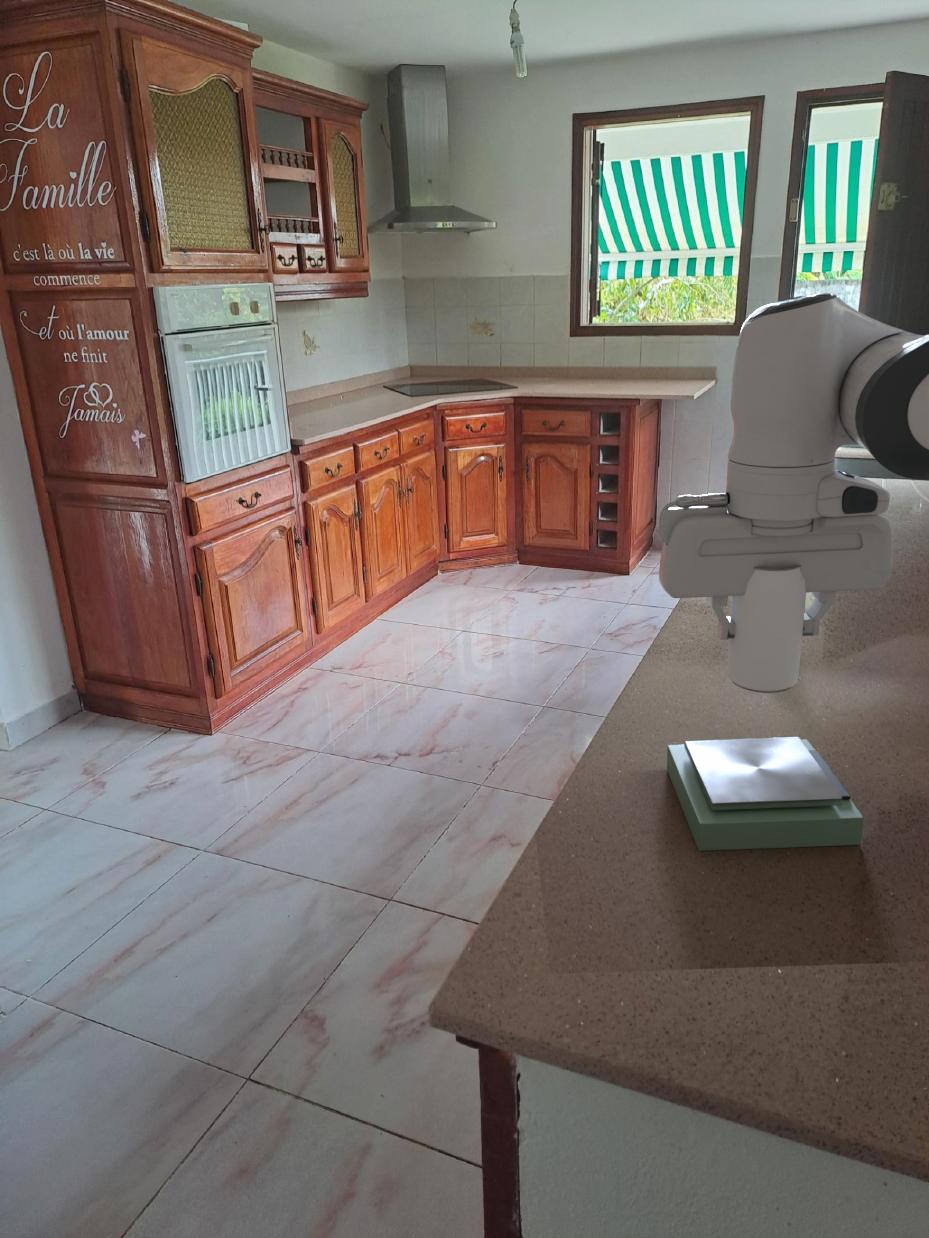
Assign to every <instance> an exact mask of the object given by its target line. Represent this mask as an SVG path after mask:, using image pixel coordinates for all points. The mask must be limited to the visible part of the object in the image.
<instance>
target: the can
mask: <svg viewBox="0 0 929 1238" xmlns="http://www.w3.org/2000/svg"><path fill="white" fill-rule="evenodd" d="M800 567H801V565H799V566H797V567H793V568H787V569H764V568H757V567H754V569H755V571H754V574H753V575H752V577H751V578H750V580H749V581H748V583H747V589H746V592H745V594H744V595H739V596H731V606H730V616H731V619H732V620H733V621H734V622H735V623H736V630H735V638H734V639H728V656H727V677H728V678H729V680H730V681H731V682H732V683H733V685H735V686H737V687H739V688H741V689H743V690H745V691H749V692H754V693H761V694H773V693H774V694H775V693H781V692H785V691H789V690H790V689H792V688H793V687H794V686H795V685H796V684H797V683H798V682H799V676H800V665H801V654H802V646H803V636H802V635H803V624H804V613H806V602H807V601H806V600H807V592H805V579H804V577H803V575H802V574H801V572H800Z"/></svg>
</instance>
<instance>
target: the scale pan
mask: <svg viewBox="0 0 929 1238" xmlns="http://www.w3.org/2000/svg"><path fill="white" fill-rule="evenodd" d="M801 740H802V739H801V738H800V737H799V736H785V737H760V738H738V739H737V738H736V739H734V738H733V739H713V740H710V739H709V740H689V741H688V740H687V741H686V740H685V741H684V745H685V750H686V752H687V754H688V757H689V759H690V761H691V763H692V766H693V768H694V770H695V772H696V775H697V777H698V779H699V781H700V784H701V786H702V788H703V790H704V793H705V795H706V797H707V799H708V802H709V804H710V806H711V808H712V810H733V809H758V808H784V807H810V806H836V805H842V797H841V796H840V794H839V793H838V791H837V790H836V789H835V787H834V786H833V784H832V783H831V782H830V780H829V779H828V777H827V776H826V775H825V773H824V772H823V770H822V769H821V768H820V766H819V765H818V763H817V762H816V760H815V759H814V758H813V756H812V755H811V753H810V752H809V751H808V749H807V748H806V746H805V745H804V744H803V742H802V741H801Z"/></svg>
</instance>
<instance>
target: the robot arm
mask: <svg viewBox="0 0 929 1238" xmlns="http://www.w3.org/2000/svg"><path fill="white" fill-rule="evenodd" d="M738 336H739V337H738V339H737V344H736V348H735V349H736V350H735V355H734V362H733V371H732V380H731V394H730V395H731V396H730V412H731V416H732V420H733V436H732V440H731V444H730V447H729V450H728V454H727V469H726V470H727V471H726V491H725V492H720V493H708V494H702V495H701V494H700V495H691V494H684V495H679V496H676V499H675V500H672V501H670V502H668V503H667V504H665V505H664V507H663V508H662V509H661V511H660V513H659V517H658V518H659V520H658V534H659V537H660V539H661V541H662V548H661V553H660V559H659V568H658V569H659V570H658V581H659V583H660V586H661V587H662V589H663V591H665V592H666V594H668V596H669V597H670V598H673V599H692V598H695V599H696V598H706V602H707V603H708V604H709V606H710V608H711V610H712V612H713V613H714V615H715V616H716V618H717V629H716V631H717V636H718V638H719V639H720V640H721V641H726V640H729V639H734V638H735V630H736V623H735V622H734V621H733V620H732V619H731V615H730V616H729V615H726V613H725V611H724V610H723V608H724V607H727V606H728V602H729V601H728V600H729V597H732V596H739V595H744V594H745V592H746V589H747V583H748V581H749V580H750V578H751V577H752V575H753V574H754V571H755V569H754V567H757V568H764V569H787V568H793V567H797V566H799V565H801V567H800V572H801V574H802V575H803V577H804V579H805V592H806V593H810V594H811V595H812V596H813V597H814V600H813V601H812V603H811V604H810V606H809V608H808V609H807V610H806V611H805V613H804V624H803V635H802V637H811V636H812V637H814V636H815V637H816V636H818V635H819V633H820V625H821V624H820V622H821V620H822V619H823V618H824V616H825V615H826V613H827V612H828V611H829V610H830V608H831V607H832V605H834V603H835V599H836V598H835V597H836V592H846V591H867V590H868V591H869V590H870V591H871V590H879V589H881V588H882V587H883V586H884V585H885V584H886V583H887V582H888V581H889V580H890V578H891V575H892V567H893V553H894V550H893V549H894V541H893V540H894V538H893V537H894V535H893V529H892V525H891V523H890V521H889V519H888V518H887V517H886V516H885V515H883V514H884V513H886V512H887V510H888V509H889V506H890V502H891V494H890V492H889V491H888V490H887V489H886V488H885V487H882V486H881V485H880V484H878V483H876V482H874V481H873V480H869V479H867V478H864V477H862V476H859V475H856V474H853V473H849V472H847V471H844V470H841V469H839V470H838V469H835V464H836V463H835V462H836V453H837V450H838V449H839V448H840V447H843V446H849V445H850V446H851V445H855V446H856V445H858V446H860V447H861V448H863V449H864V450H866V451H868V452H869V454H870V455H871V456H872V457H873V458H874V460H876V461H877V462H878V464H880V465H881V466H882V467H883V468H884V469H886V470H888V471H889V472H891V473H892V474H895V475H896V476H900V477H903V478H906V479H911V480H916V481H917V480H919V481H929V334H926V335H923V334H917V333H913V332H910V331H908V330H907V331H906V330H904V329H901V328H898V327H895V326H891V325H889V324H886V323H884V322H881V321H879V320H877V319H875V318H872V317H870V316H868V315H866V314H864V313H862V312H861V311H859V310H857V309H855V308H854V307H851V306H850V305H849V304H847V303H846V302H844V301H843V300H842V299H841V298H840V296H839V295H837V294H834V293H830V292H821V293H810V294H807V295H799V296H795V297H789V298H786V299H781V300H778V301H777V300H776V301H773V302H771V303H768V304H765V305H762V306H761V307H759V308H757V309H756V310H754V311H753V312H752V313H751V314H750V315H749V316H748V318H746V320H744V322H743V324H742V327H741V329H740V332H739V335H738ZM674 506H676V507H674ZM722 607H723V608H722Z"/></svg>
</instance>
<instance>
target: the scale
mask: <svg viewBox="0 0 929 1238" xmlns="http://www.w3.org/2000/svg"><path fill="white" fill-rule="evenodd" d="M801 741H802V742H803V744H804V745H805V746H806V748H807V749H808V751H809V752H810V753H811V755H812V756H813V758H814V759H815V760H816V762H817V763H818V765H819V766H820V768H821V769H822V770H823V772H824V773H825V775H826V776H827V777H828V779H829V780H830V782H831V783H832V784H833V786H834V787H835V789H836V790H837V791H838V793H839V794H840V796H841V797H842V805H836V806H810V807H784V808H758V809H733V810H712V808H711V806H710V804H709V802H708V799H707V797H706V795H705V793H704V790H703V788H702V786H701V784H700V781H699V779H698V777H697V775H696V772H695V770H694V768H693V766H692V763H691V761H690V759H689V757H688V754H687V752H686V750H685V744H667V746H666V747H667V751H666V754H667V755H666V771H667V773H668V775H669V776H668V777H669V779H670V781H671V783H672V786H673V789H674V791H675V793H676V796H677V799H678V802H679V804H680V806H681V809H682V812H683V814H684V817H685V819H686V822H687V825H688V827H689V830H690V832H691V834H692V839H693V840H694V842H695V845H696V848H697V850H698V852H705V851H706V852H707V851H730V850H731V851H732V850H734V851H735V850H736V851H737V850H759V849H784V848H785V849H787V848H811V847H814V848H815V847H837V846H838V847H839V846H840V847H841V846H842V847H843V846H861V844H862V836H863V829H864V827H863V826H864V816H863V814H862V813H861V812H860V810H859V809H858V808H857V806H856V805H855V804H854V802H853V801H852V799H851V795H850V793H849V792H848V791H847V789H846V788H845V787H844V785H843V784H842V782H840V780H839V779H838V777H837V776H836V774H835V773H834V771H833V770H832V768H831V767H830V766H829V765H828V763H827V762H826V760H825V759H824V758H823V756H822V755H821V754H820V752H819V751H818V750H817V749H815V748H814V747H813V746H812V744H811V742H810V741H809V740H808V739H801Z"/></svg>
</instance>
